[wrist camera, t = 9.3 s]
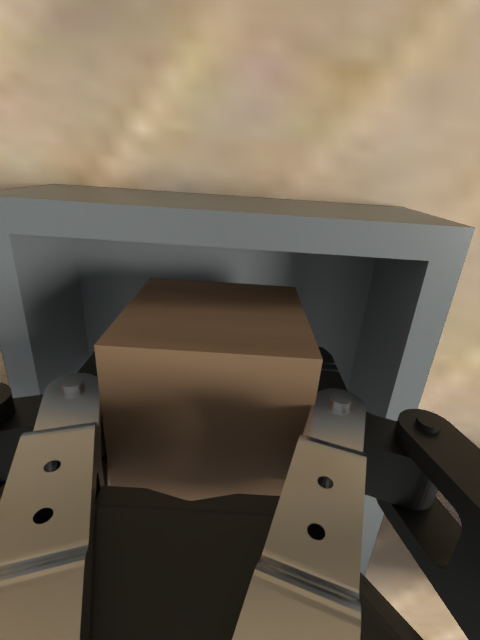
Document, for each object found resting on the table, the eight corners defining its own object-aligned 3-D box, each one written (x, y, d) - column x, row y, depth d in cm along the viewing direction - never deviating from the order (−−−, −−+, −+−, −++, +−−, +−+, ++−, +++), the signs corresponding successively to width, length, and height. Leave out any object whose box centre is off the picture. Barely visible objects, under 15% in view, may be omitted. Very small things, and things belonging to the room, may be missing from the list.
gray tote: (54, 183, 14) (-36, 193, 10) (402, 207, 15) (474, 227, 10) (98, 503, 22) (58, 595, 17) (330, 517, 22) (353, 612, 17)
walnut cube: (150, 277, 12) (93, 345, 8) (294, 287, 12) (322, 359, 8) (155, 397, 14) (112, 507, 10) (279, 405, 14) (295, 517, 10)
